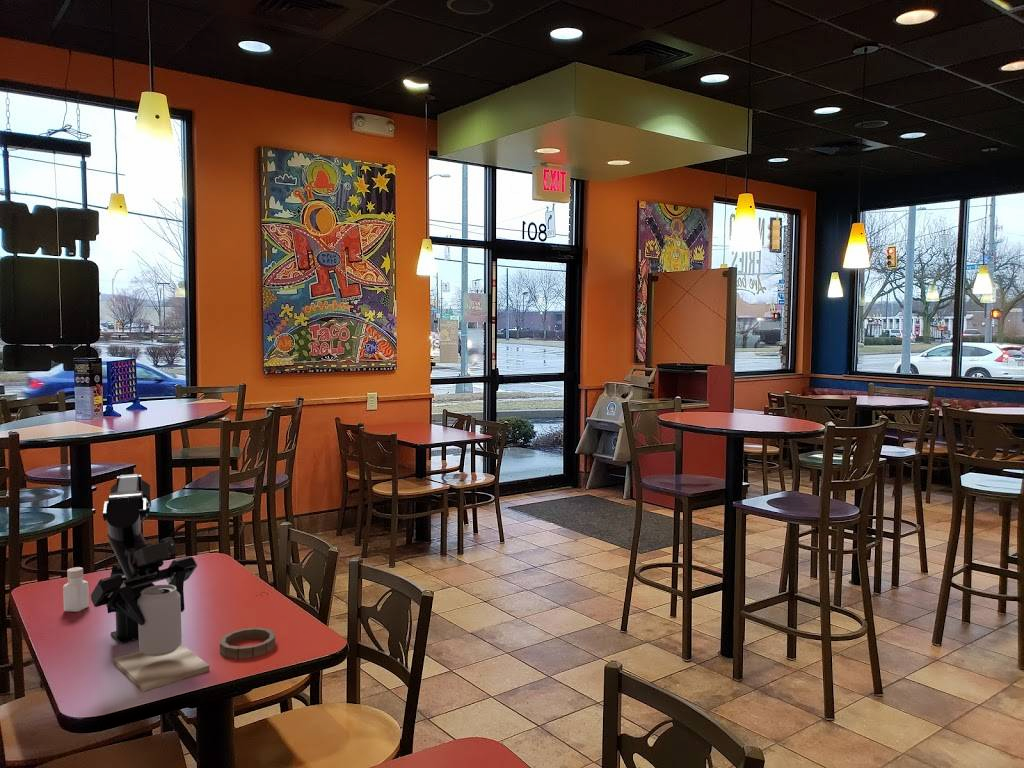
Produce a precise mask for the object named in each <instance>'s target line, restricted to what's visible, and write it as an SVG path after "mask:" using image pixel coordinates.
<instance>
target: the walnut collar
mask: <svg viewBox="0 0 1024 768" xmlns="http://www.w3.org/2000/svg"><path fill="white" fill-rule="evenodd" d="M256 639H257V640H264V641H263V642H259V643H256V644H253V645H244V646H238V645H237V646H235V645H233V644H234V643H238V642H240V641H245V640H256ZM275 646H276V632H275V631H273V630H271V629H270V628H267V627H265V628H264V627H248V628H247V627H246V628H241V629H240V628H239V629H237V630H234V631H230V632H228V633H227V634H225V635H223V636H222V637H221V638H220V641H219V654H221V655H222V656H223V657H225V658H229V659H234V660H235V659H237V660H238V659H239V660H241V659H251V658H256V657H260V656H261V655H265V654H268V653H269V652H270V651H272V650H273V649H275Z"/></svg>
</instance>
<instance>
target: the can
mask: <svg viewBox="0 0 1024 768" xmlns="http://www.w3.org/2000/svg"><path fill="white" fill-rule="evenodd" d="M154 585H155V586H151V587H148V588H145V589H144V590H142V591H141V596H140V597H139V599H138V600H137V602H138V607H139V609H140V611H141V613H142V615H143V617H144V620H145V623H144V625H140V624H138V632H139V639H138V651H141V652H142V653H144V654H145V655H147V656H162V655H166V654H170V653H172V652H174V651H175V650H176V649H177V648H178V647H179V646H180V645H181V644H182V643H183V642H182V641H183V640H182V637H183V635H182V612H181V599H180V593H179V592H177V591H176V589H177V588H176V587H175V586H174V585H168V583H167V584H157V585H156V584H154Z"/></svg>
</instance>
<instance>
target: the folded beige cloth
mask: <svg viewBox="0 0 1024 768" xmlns="http://www.w3.org/2000/svg"><path fill="white" fill-rule="evenodd" d="M113 663H114V665H115V666H116V667H117V668H118V669H119V670H120V671H121V672H122V673H123V674H124V675H125V676H126V677H127V678H128V679H129V680H130V681H131V682H132V683H133V684H134V685H135V686H136V687H138V689H140V691H142V692H145V691H147V692H148V691H149V690H153V689H156V688H159V687H161V686H165V685H168V684H172V683H175V682H178V681H181V680H185V679H187V678H190V677H193V676H197V675H200V674H203V673H206V672H209V671H210V665H209V664H208V663H207V662H206V661H204V660H203V659H201V658H200V657H199V656H198V655H196V654H195V653H194V652H192V651H191V650H190V649H188V648H187V647H186V646H185V645H183V644H182V643H181V645H180V646H179V647H178V648H177V649H176V650H175V651H174V652H172V653H170V654H166V655H162V656H147V655H145V654H144V653H142V652H141V651H140V650H138V651H136V652H132V653H129V654H125V655H121V656H118V657H114V658H113Z"/></svg>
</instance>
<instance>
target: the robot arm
mask: <svg viewBox="0 0 1024 768" xmlns="http://www.w3.org/2000/svg"><path fill="white" fill-rule="evenodd" d="M109 492H110V493H109V495H108V498H107V500H104V503H103V511H102V518H103V519H102V520H103V521H105V522H106V525H107V532H108V534H107V539H108V541H109V544H110V546H111V548H112V550H113V552H114V554H115V556H116V559H117V561H118V562H117V564H113V565H112V567H111V573H110V576H109V577H105V578H101V579H99V581H97V584H96V585H95V587H94V589H93V591H92V592H91V594H90V599H91V600H90V601H91V602H92V604H93V607H95V608H99V607H101V606H106V607H107V609H106V610H107V614H111V613H115V630H114V631H111V632H110V637H112V638H113V639H114V640H115V641H116V642H117V643H119V644H123V643H124V644H125V643H127V642H131V641H135V640H139V632H138V624H140V625H144V623H145V620H144V617H143V615H142V613H141V611H140V609H139V607H138V602H137V600H138V599H139V597H140V596H141V591H142V590H144V589H145V588H148V587H151V586H155V585H156V584H154V583H157V582H159V581H162V580H166V583H167V585H174V586H175V587H176V588H177V589H176V591H177V592H179V593H180V599H181V613H182V612H183V613H184V611H185V607H186V606H185V596H184V595H185V594H184V583H185V582H186V581H187V580H189V579H190V577H191V576H192V574H193V573H194V572H195V569H196V568H197V567H198V564H197V562H196V559H195V558H194V557H193V556H190V555H187V556H183V557H180V558H176V559H173V560H172V561H171V563H170V564H169V566H168V567H166V568H164V569H160V568H161V567H162V566H163V565H164V562H165V560H166V559H170V558H171V555H172V554H175V553H176V552H177V549H178V548H177V545H176V542H175V541H174V538H173V537H172V536H169V537H165V538H162V539H160V540H159V542H158V543H155V544H152V543H151V542H150V543H147V542H146V540H145V537H144V535H143V533H142V530H141V529H142V523H143V522H144V521H145V519H146V518H148V516H149V514H150V513H151V512H150V511H151V508H152V494H151V492H152V490H151V484H149V483H147V482H146V481H145V480H143V479H142V474H139V473H129V474H120V475H118V476H116V482H115V483H114V484H113V485H112V486H111V487H110V490H109Z"/></svg>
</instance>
